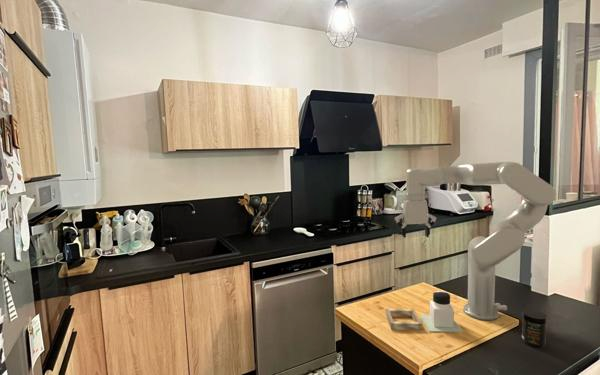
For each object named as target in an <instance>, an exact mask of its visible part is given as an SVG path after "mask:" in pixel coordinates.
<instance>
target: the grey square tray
mask: <svg viewBox="0 0 600 375" xmlns="http://www.w3.org/2000/svg"><path fill="white" fill-rule="evenodd" d="M385 317H386V320H387V323H388V325H389V328H390V330H393V331H394V330H395V331H398V330H400V331H422V330H423V323H422V322H421V319H420V317H419V315H418V314H417V313H416V310H415V309H414V308H386V309H385ZM393 317H412V320H413V321H394V319H393Z"/></svg>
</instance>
